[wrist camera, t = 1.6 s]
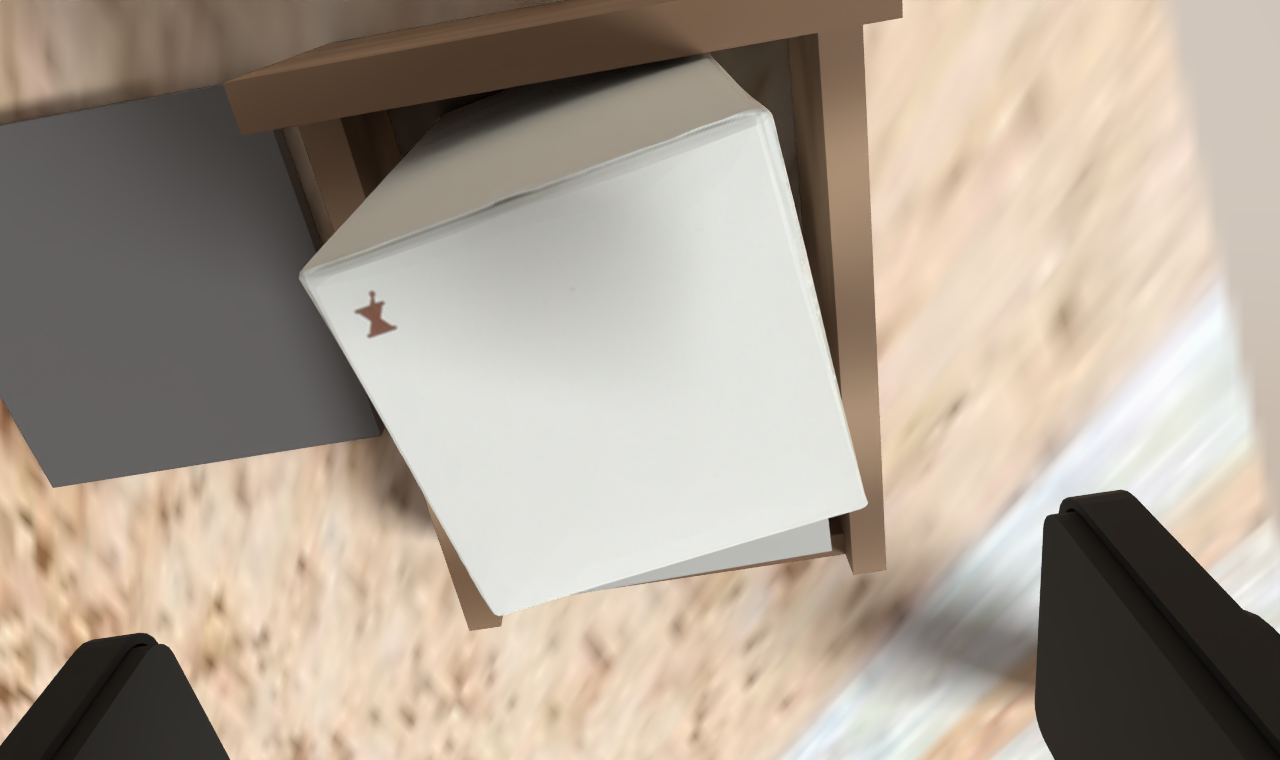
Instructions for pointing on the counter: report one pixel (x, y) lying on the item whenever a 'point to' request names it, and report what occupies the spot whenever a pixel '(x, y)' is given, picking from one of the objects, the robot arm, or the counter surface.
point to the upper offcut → (742, 554)
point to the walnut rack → (604, 40)
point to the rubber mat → (162, 293)
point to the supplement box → (595, 329)
